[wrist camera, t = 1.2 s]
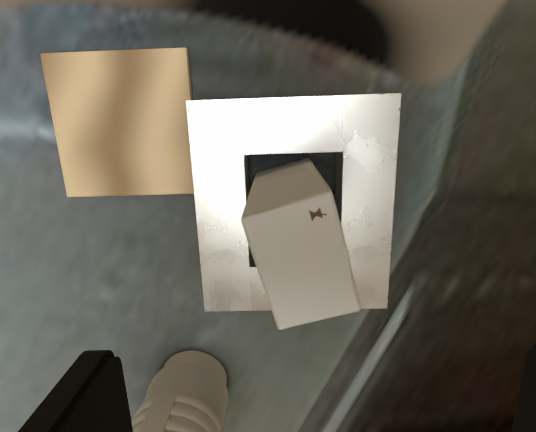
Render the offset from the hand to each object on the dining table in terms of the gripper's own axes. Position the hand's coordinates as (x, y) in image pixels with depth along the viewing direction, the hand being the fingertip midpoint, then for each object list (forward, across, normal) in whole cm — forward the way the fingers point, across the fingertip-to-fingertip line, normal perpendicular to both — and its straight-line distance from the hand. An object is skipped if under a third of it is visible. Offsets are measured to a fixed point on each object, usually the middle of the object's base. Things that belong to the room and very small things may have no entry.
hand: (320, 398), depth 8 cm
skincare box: (+20, 0, 0) cm, 20 cm away
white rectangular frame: (+20, 0, 0) cm, 20 cm away
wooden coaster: (+20, +12, -6) cm, 24 cm away
